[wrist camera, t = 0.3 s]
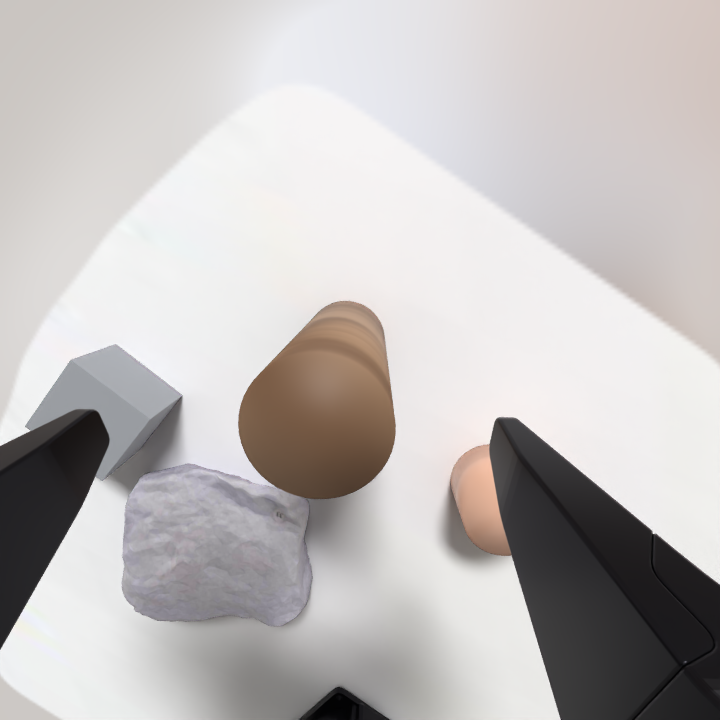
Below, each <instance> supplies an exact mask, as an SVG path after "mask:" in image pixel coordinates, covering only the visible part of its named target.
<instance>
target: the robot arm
mask: <svg viewBox="0 0 720 720" xmlns="http://www.w3.org/2000/svg"><path fill="white" fill-rule="evenodd" d="M109 442H110V437H109V434H108V431H107V429H106V427H105V424H104V422H103V420H102V418H101V415H100V413H99V412H98V411H97V410H95V409H75V410H72V411H70V412H68V413H66V414H64V415H62V416H60V417H58V418H56V419H54V420H52V421H50V422H48V423H46V424H44V425H42V426H40V427H38V428H36V429H34V430H32V431H30V432H28V433H26V434H24V435H22V436H20V437H18V438H16V439H14V440H12V441H10V442H8V443H6V444H4V445H2V446H0V649H1V648H2V646H3V644H4V642H5V641H6V639H7V637H8V635H9V634H10V632H11V630H12V628H13V627H14V625H15V623H16V621H17V620H18V618H19V616H20V614H21V613H22V611H23V609H24V607H25V606H26V604H27V602H28V600H29V599H30V597H31V595H32V593H33V592H34V590H35V588H36V586H37V584H38V583H39V581H40V579H41V577H42V576H43V574H44V572H45V570H46V569H47V567H48V565H49V563H50V562H51V560H52V558H53V556H54V555H55V553H56V551H57V549H58V548H59V546H60V544H61V542H62V541H63V539H64V537H65V535H66V534H67V532H68V530H69V528H70V527H71V525H72V523H73V521H74V520H75V518H76V516H77V514H78V512H79V510H80V509H81V507H82V505H83V503H84V500H85V498H86V496H87V494H88V492H89V490H90V487H91V485H92V483H93V481H94V478H95V476H96V474H97V472H98V469H99V467H100V465H101V462H102V460H103V458H104V456H105V453H106V451H107V449H108V446H109ZM489 455H490V461H491V466H492V472H493V478H494V484H495V489H496V495H497V501H498V506H499V512H500V517H501V521H502V524H503V528H504V531H505V535H506V538H507V541H508V545H509V548H510V551H511V555H512V558H513V561H514V565H515V568H516V571H517V575H518V578H519V582H520V585H521V588H522V592H523V595H524V598H525V602H526V605H527V608H528V612H529V615H530V618H531V622H532V625H533V628H534V632H535V635H536V638H537V642H538V645H539V648H540V652H541V655H542V658H543V662H544V665H545V668H546V672H547V675H548V678H549V682H550V685H551V688H552V692H553V695H554V698H555V702H556V705H557V708H558V712H559V715H560V718H561V720H720V584H718V583H717V582H716V581H714V580H713V579H712V578H710V577H709V576H708V575H706V574H705V573H704V572H703V571H701V570H700V569H699V568H698V567H696V566H695V565H694V564H693V563H691V562H690V561H689V560H688V559H686V558H685V557H684V556H683V555H681V554H680V553H679V552H678V551H676V550H675V549H674V548H673V547H671V546H670V545H669V544H668V543H667V542H665V541H664V540H663V539H662V538H661V537H659V536H658V535H657V534H653V532H652V530H651V529H650V528H648V527H647V526H646V525H645V524H643V523H642V522H641V521H640V520H639V519H637V518H636V517H635V516H634V515H633V514H631V513H630V512H629V511H628V510H627V509H625V508H624V507H623V506H622V505H621V504H619V503H618V502H617V501H616V500H615V499H613V498H612V497H611V496H610V495H608V494H607V493H606V492H605V491H604V490H602V489H601V488H600V487H599V486H598V485H596V484H595V483H594V482H593V481H592V480H590V479H589V478H588V477H587V476H586V475H584V474H583V473H582V472H581V471H580V470H578V469H577V468H576V467H575V466H573V465H572V464H571V463H570V462H569V461H567V460H566V459H565V458H564V457H563V456H561V455H560V454H559V453H558V452H557V451H555V450H554V449H553V448H552V447H551V446H549V445H548V444H547V443H546V442H545V441H543V440H542V439H541V438H540V437H538V436H537V435H536V434H535V433H534V432H532V431H531V430H530V429H529V428H528V427H526V426H525V425H524V424H523V423H522V422H520V421H519V420H518V419H516V418H511V417H499V418H497V419H496V420H495V423H494V427H493V431H492V436H491V440H490V445H489ZM300 720H389V719H387V718H386V717H384V716H383V715H381V714H380V713H379V712H377V711H376V710H374V709H373V708H371V707H370V706H368V705H367V704H365V703H364V702H363V701H361V700H360V699H358V698H357V697H355V696H354V695H352V694H351V693H349V692H348V691H347V690H345V689H343V688H340V687H338V688H335V689H334V690H333V691H332V692H331V693H329V694H328V695H327V696H326V697H325V698H324V699H323V700H322V701H320V702H319V703H318V704H317V705H316V706H315V707H314V708H312V709H311V710H310V711H309V712H308V713H307V714H306V715H304V716H303V717H302V718H301V719H300Z"/></svg>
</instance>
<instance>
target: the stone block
mask: <svg viewBox="0 0 720 720" xmlns="http://www.w3.org/2000/svg"><path fill="white" fill-rule="evenodd" d="M308 516H309V503H308V501H307V500H306V499H305V498H303V497H300V496H296V495H293V494H290V493H287V492H285V491H283V490H281V489H277V488H272V487H270V486H266V485H258V484H254V483H252V482H250V481H249V480H245V479H242V478H241V477H239V476H234V475H229V474H225V473H222V472H220V471H216V470H211V469H206V468H203V467H200V466H198V465H195V464H185V465H181V466H177V467H173V468H168V469H165V470H161V471H154V472H149V473H146V474H144V475H143V476H142V477H140V478H139V481H138V482H137V484H136V485H135V487H134V488H133V490H132V492H131V493H130V495H129V497H128V501H127V503H126V507H125V527H124V538H123V557H122V558H123V560H124V572H123V578H122V591H123V594H124V597H125V598H126V600H127V601H128V602H129V603H130V604H131V605H132V606H134V610H135V611H136V612H140V613H141V614H142V615H146V616H148V617H150V618H152V619H155V620H157V621H199V620H205V619H209V618H214V617H219V616H239V617H241V618H255V619H257V620H259V621H261V622H263V623H265V624H267V625H269V626H282V625H284V624H286V623H288V622H289V621H291V620H292V619H294V618H296V617H297V616H298V615H299V613H300V612H301V611H302V609H303V608H304V607H305V605H306V603H307V601H308V598H309V593H310V587H311V581H312V570H311V565H310V562H309V557H308V554H307V547H306V543H305V542H304V535H305V531H306V527H307V521H308Z"/></svg>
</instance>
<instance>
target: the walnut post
mask: <svg viewBox="0 0 720 720" xmlns="http://www.w3.org/2000/svg"><path fill="white" fill-rule="evenodd" d="M238 426H239V435H240V439H241V444H242V446H243V449H244V451H245V454H246V455H247V457H248V459H249V461H250V462H251V464H252V465H253V466H254V468H255V469H256V470H257V471H258V472H259V473H260V475H261V476H262V477H264V478H265V479H266V480H267V481H268V482H270V483H271V484H273V485H274V486H276V487H277V488H279V489H281V490H283V491H285V492H287V493H290V494H293V495H296V496H300V497H304V498H311V499H329V498H336V497H340V496H344V495H347V494H350V493H353V492H355V491H357V490H358V489H360V488H362V487H364V486H365V485H366V484H368V483H369V482H370V481H372V480H373V479H374V478H375V477H376V476H377V475H378V474H379V472H380V471H381V470H382V469H383V467H384V466H385V464H386V463H387V461H388V459H389V457H390V454H391V452H392V449H393V445H394V440H395V427H396V425H395V417H394V409H393V401H392V393H391V385H390V377H389V369H388V361H387V353H386V345H385V337H384V331H383V327H382V325H381V322H380V321H379V319H378V317H377V316H376V315H375V314H374V313H373V312H372V311H371V310H370V309H369V308H367V307H365V306H364V305H362V304H359V303H356V302H351V301H340V302H335V303H332V304H330V305H328V306H326V307H324V308H323V309H322V310H320V311H319V312H318V313H317V314H316V315H315V316H314V318H313V319H312V320H311V321H310V322H309V323H308V324H307V325H306V326H305V327H304V328H303V329H302V330H301V331H300V332H299V333H298V334H297V335H296V336H295V337H294V338H293V339H292V341H291V342H290V343H289V344H288V345H287V346H286V347H285V348H284V349H283V350H282V351H281V352H280V353H279V354H278V355H277V356H276V357H275V358H274V359H273V360H272V361H271V362H270V363H269V365H268V366H267V367H266V368H265V369H264V370H263V371H262V372H261V373H260V374H259V375H258V376H257V377H256V378H255V379H254V380H253V382H252V383H251V385H250V386H249V387H248V389H247V391H246V393H245V395H244V397H243V400H242V403H241V406H240V411H239V421H238Z"/></svg>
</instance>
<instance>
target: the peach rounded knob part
mask: <svg viewBox="0 0 720 720" xmlns="http://www.w3.org/2000/svg"><path fill="white" fill-rule="evenodd" d="M489 445H490V444H489ZM489 445H482V446H478V447H475V448H473V449H471V450H469V451H468V452H466V453H465V454H464V455H462V456H461V457H460V458H459V460H458V461H457V462H456V464H455V466H454V468H453V470H452V473H451V488H452V492H453V495H454V498H455V501H456V504H457V507H458V510H459V513H460V516H461V519H462V522H463V525H464V528H465V531H466V533H467V535H468V537H469V538H470V540H471V541H472V542H473V543H474V544H475V545H476V546H477V547H479V548H480V549H482V550H484V551H486V552H488V553H491V554H495V555H501V556H511V551H510V548H509V545H508V541H507V538H506V535H505V531H504V528H503V524H502V521H501V517H500V512H499V506H498V501H497V495H496V489H495V484H494V478H493V472H492V466H491V461H490V455H489Z"/></svg>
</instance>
